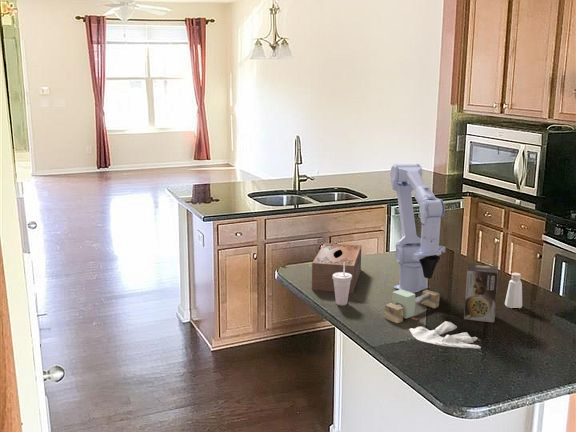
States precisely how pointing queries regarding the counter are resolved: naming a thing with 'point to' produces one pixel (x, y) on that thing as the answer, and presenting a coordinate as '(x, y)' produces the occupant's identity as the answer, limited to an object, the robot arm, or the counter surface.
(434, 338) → the cloth
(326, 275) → the tissue box cover
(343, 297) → the smoothie
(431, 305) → the pipe supports
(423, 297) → the pipe
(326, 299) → the counter surface
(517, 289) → the pepper shaker
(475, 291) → the printed cardboard box
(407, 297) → the collar
